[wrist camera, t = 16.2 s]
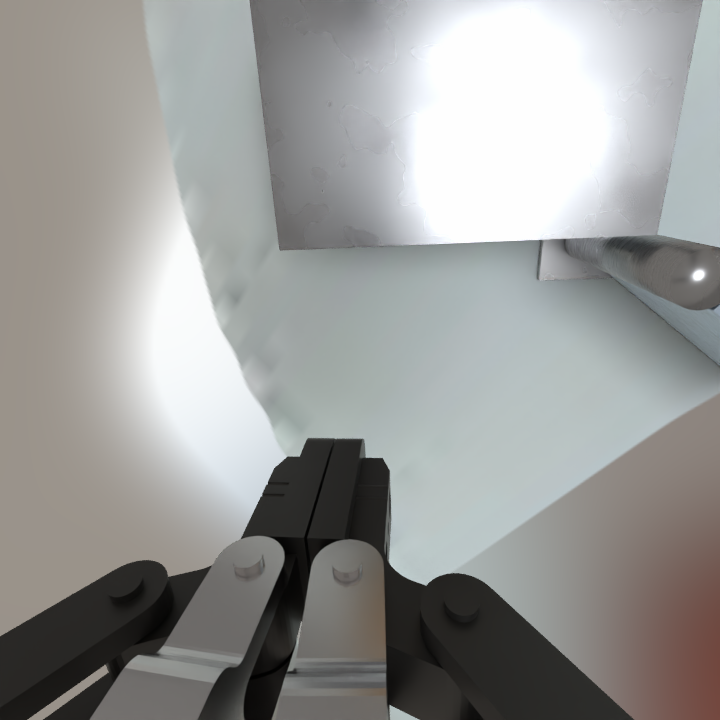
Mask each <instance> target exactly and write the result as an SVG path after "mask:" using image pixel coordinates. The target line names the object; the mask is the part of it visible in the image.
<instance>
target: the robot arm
mask: <svg viewBox="0 0 720 720" xmlns="http://www.w3.org/2000/svg"><path fill="white" fill-rule="evenodd" d="M390 531H391V495H390V470H389V469H388V467H387V465H386V464H385V462H384V460H383V458H366V457H365V443H364V439H335V438H308V439H307V440H306V443H305V445H304V448H303V450H302V453H301V455H300V457H287V458H286V459H284V460H283V461H282V462H281V463H280V464H279V465H278V466H276V467H275V468H274V470H273V473H272V475H271V477H270V479H269V481H268V485H266V487H265V490H264V492H263V495H262V497H261V498H260V500H259V502H258V504H257V506H256V508H255V510H254V513H253V515H252V517H251V519H250V521H249V523H248V525H247V527H246V529H245V531H244V534H243V536H242V538H241V540H238V541H236V542H234V543H232V544H231V545H229V546H228V547H227V548H225V549H224V550H223V551H222V552H221V553H220V554H219V556H218V557H217V558H216V560H215V562H214V564H213V565H212V566H209V567H207V568H204V569H201V570H197V571H193V572H188V573H184V574H179V575H175V576H171V577H168V574H167V571H166V569H165V567H164V566H163V565H162V564H160V563H158V562H155V561H149V560H143V561H136V562H132V563H129V564H126V565H124V566H121V567H119V568H117V569H116V570H114V571H112V572H110V573H109V574H107V575H105V576H104V577H102V578H100V579H98V580H97V581H95V582H93V583H91V584H90V585H88V586H86V587H84V588H83V589H81V590H79V591H78V592H76V593H74V594H72V595H71V596H69V597H67V598H66V599H64V600H62V601H60V602H59V603H57V604H55V605H54V606H52V607H50V608H48V609H47V610H45V611H43V612H42V613H40V614H38V615H36V616H35V617H33V618H31V619H30V620H28V621H26V622H24V623H23V624H21V625H19V626H17V627H16V628H14V629H12V630H10V631H9V632H7V633H5V634H4V635H2V636H0V720H27V719H29V718H30V717H32V716H33V715H34V714H36V713H37V712H39V711H40V710H41V709H43V708H44V707H46V706H47V705H49V704H50V703H51V702H53V701H54V700H56V699H57V698H58V697H60V696H61V695H63V694H64V693H66V692H67V691H68V690H70V689H71V688H73V687H74V686H75V685H77V684H78V683H80V682H81V681H82V680H84V679H85V678H87V677H88V676H90V675H91V674H92V673H94V672H95V671H97V670H98V669H100V668H101V667H102V666H104V665H105V664H106V666H107V669H108V671H109V673H107V674H106V675H105V676H103V677H102V678H100V679H99V680H98V681H96V682H95V683H93V684H92V685H91V686H89V687H88V688H87V689H85V690H84V691H82V692H81V693H80V694H78V695H77V696H75V697H74V698H73V699H71V700H70V701H68V702H67V703H66V704H65V705H63V706H62V707H60V708H59V709H57V710H56V711H55V712H53V713H52V714H51V715H49V716H48V717H46V718H45V719H43V720H390V705H391V706H393V707H395V708H397V709H399V710H401V711H404V712H405V713H407V714H409V715H411V716H413V717H415V718H417V719H420V720H634V719H633V718H631V717H630V716H629V715H628V714H627V713H626V712H625V711H624V710H623V709H622V708H621V707H620V706H619V705H617V704H616V703H615V702H614V701H613V700H612V699H611V698H610V697H609V696H607V694H605V693H604V692H603V691H602V690H601V689H600V688H599V687H598V686H597V685H596V684H595V683H593V682H592V681H591V680H590V679H589V678H588V677H587V676H586V675H585V674H584V673H583V672H581V671H580V670H579V669H578V668H577V667H576V666H575V665H574V664H573V663H572V662H571V661H570V660H569V659H568V658H566V657H565V656H564V655H563V654H562V653H561V652H560V651H559V650H558V649H557V648H556V647H554V646H553V645H552V644H551V643H550V642H549V641H548V640H547V639H546V638H545V637H544V636H543V635H541V634H540V633H539V632H538V631H537V630H536V629H535V628H534V627H533V626H531V624H529V623H528V622H527V621H526V620H525V619H524V618H523V617H522V616H521V615H520V614H519V613H517V612H516V611H515V610H514V609H513V608H512V607H511V606H510V605H509V604H508V603H507V602H506V601H504V600H503V599H502V598H501V597H500V596H499V595H498V594H497V593H496V592H495V591H494V590H493V589H491V588H490V587H489V586H488V585H487V584H485V583H484V582H482V581H481V580H479V579H477V578H475V577H472V576H469V575H466V574H459V573H456V574H455V573H451V574H445V575H442V576H439V577H437V578H435V579H433V580H432V581H431V582H429V583H428V585H427V586H425V585H422V584H420V583H417V582H414V581H411V580H409V579H407V578H405V577H403V576H402V575H400V574H399V573H398V572H396V571H395V570H394V569H393V568H392V567H391V565H390V564H389V547H390ZM301 621H302V626H301V632H300V638H299V644H298V637H297V635H298V631H299V627H300V623H301Z"/></svg>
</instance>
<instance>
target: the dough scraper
mask: <svg viewBox="0 0 720 720" xmlns="http://www.w3.org/2000/svg"><path fill="white" fill-rule="evenodd" d="M565 246H566V250H567V252H568V253H569V255H570V256H572V257H573V258H575V259H577V260H580V261H582V262H584V263H586V264H588V265H591V266H593V267H595V268H597V269H599V270H602V271H604V272H606V273H608V274H610V275H611V276H612V277H614V278H615V279H616V280H617V281H618V282H620V283H621V284H622V285H623V286H624V287H626V288H627V289H628V290H629V291H630V292H632V293H633V294H634V295H635V296H636V297H638V298H639V299H640V300H641V301H642V302H644V303H645V304H646V305H647V306H648V307H650V308H651V309H652V310H653V311H654V312H656V313H657V314H658V315H659V316H660V317H662V318H663V319H664V320H665V321H666V322H668V323H669V324H670V325H671V326H673V327H674V328H675V329H676V330H677V331H679V332H680V333H681V334H682V335H683V336H685V337H686V338H687V339H688V340H689V341H691V342H692V343H693V344H694V345H695V346H697V347H698V348H699V349H700V350H701V351H703V352H704V353H705V354H706V355H707V356H709V357H710V358H711V359H712V360H713V361H715V362H716V363H717V364H718V365H719V366H720V248H719V247H714V246H709V245H704V244H699V243H694V242H690V241H685V240H680V239H675V238H670V237H665V236H661V235H642V236H618V237H593V238H569V239H566V241H565Z"/></svg>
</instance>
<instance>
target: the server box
mask: <svg viewBox="0 0 720 720" xmlns="http://www.w3.org/2000/svg"><path fill="white" fill-rule="evenodd" d="M702 1H703V0H250V7H251V16H252V24H253V32H254V41H255V49H256V57H257V66H258V74H259V82H260V91H261V99H262V107H263V116H264V124H265V132H266V141H267V149H268V157H269V166H270V174H271V182H272V191H273V199H274V207H275V216H276V224H277V232H278V240H279V249H280V250H302V249H327V248H351V247H375V246H399V245H424V244H448V243H472V242H496V241H521V240H541V245H540V255H539V265H538V275H537V279H538V280H565V279H597V278H614V277H612V276H611V275H610V274H608V273H606V272H604V271H602V270H599V269H597V268H595V267H593V266H591V265H588V264H586V263H584V262H582V261H580V260H577V259H575V258H573V257H572V256H570V255H569V253H568V252H567V250H566V246H565V241H566V239H569V238H593V237H618V236H642V235H657V232H658V227H659V222H660V217H661V212H662V207H663V202H664V197H665V191H666V186H667V181H668V176H669V171H670V166H671V161H672V155H673V150H674V145H675V140H676V135H677V130H678V125H679V119H680V114H681V109H682V104H683V99H684V94H685V89H686V83H687V78H688V73H689V68H690V63H691V58H692V53H693V47H694V42H695V37H696V32H697V27H698V22H699V17H700V12H701V6H702Z"/></svg>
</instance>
